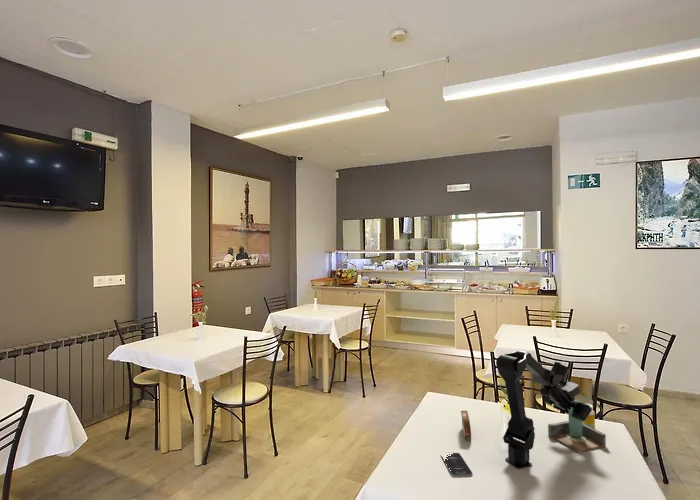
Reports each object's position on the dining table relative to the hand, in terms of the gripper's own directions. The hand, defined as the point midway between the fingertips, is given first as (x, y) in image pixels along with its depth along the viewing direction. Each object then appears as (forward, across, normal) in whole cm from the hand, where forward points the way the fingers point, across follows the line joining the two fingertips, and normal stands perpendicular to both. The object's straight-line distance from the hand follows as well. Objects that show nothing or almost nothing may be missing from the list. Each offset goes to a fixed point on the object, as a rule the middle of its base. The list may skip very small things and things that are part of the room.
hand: (578, 417), depth 157 cm
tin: (-22, +18, +35) cm, 45 cm away
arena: (+5, -1, +8) cm, 9 cm away
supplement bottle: (+15, +7, -3) cm, 17 cm away
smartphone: (-34, -1, +47) cm, 58 cm away
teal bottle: (+4, 0, +6) cm, 7 cm away
